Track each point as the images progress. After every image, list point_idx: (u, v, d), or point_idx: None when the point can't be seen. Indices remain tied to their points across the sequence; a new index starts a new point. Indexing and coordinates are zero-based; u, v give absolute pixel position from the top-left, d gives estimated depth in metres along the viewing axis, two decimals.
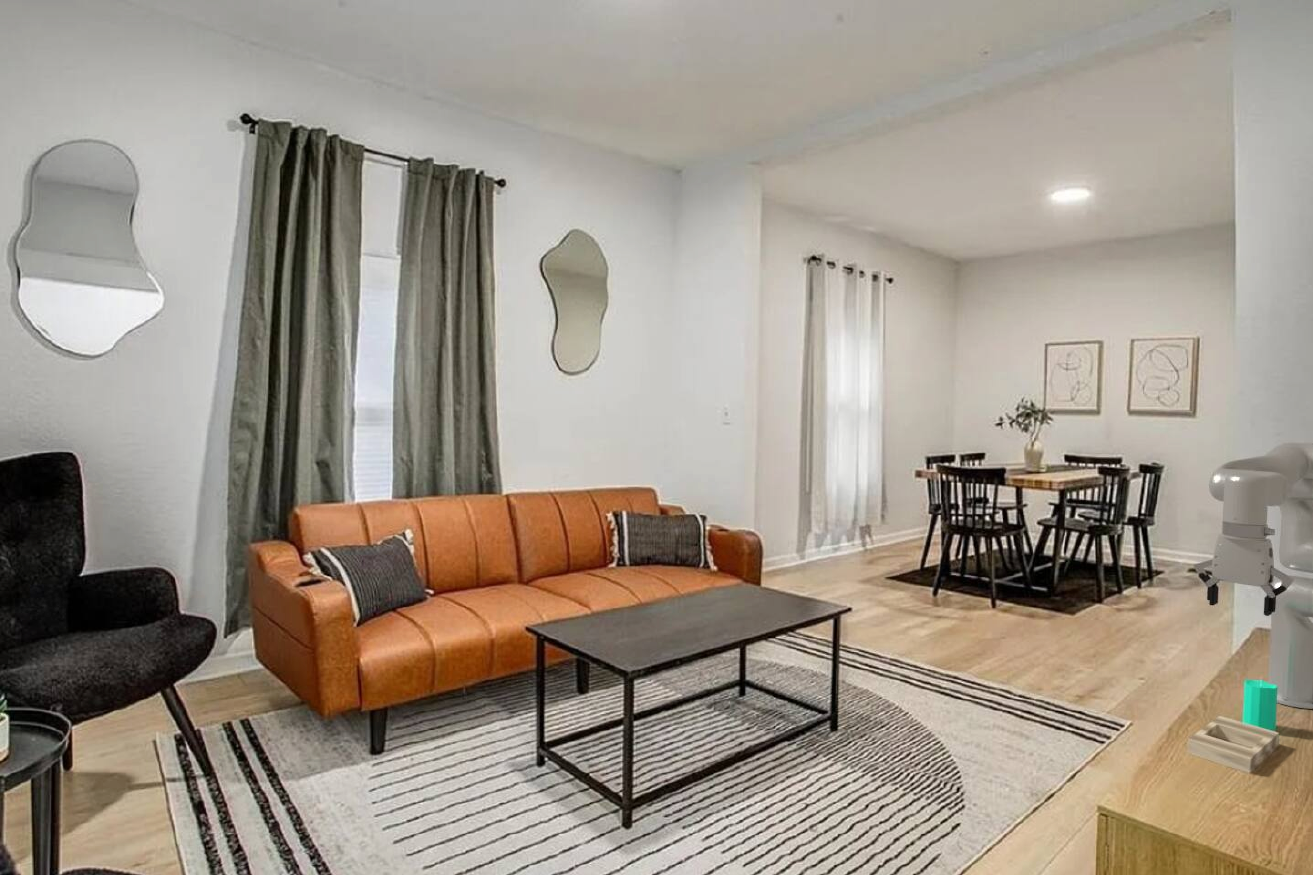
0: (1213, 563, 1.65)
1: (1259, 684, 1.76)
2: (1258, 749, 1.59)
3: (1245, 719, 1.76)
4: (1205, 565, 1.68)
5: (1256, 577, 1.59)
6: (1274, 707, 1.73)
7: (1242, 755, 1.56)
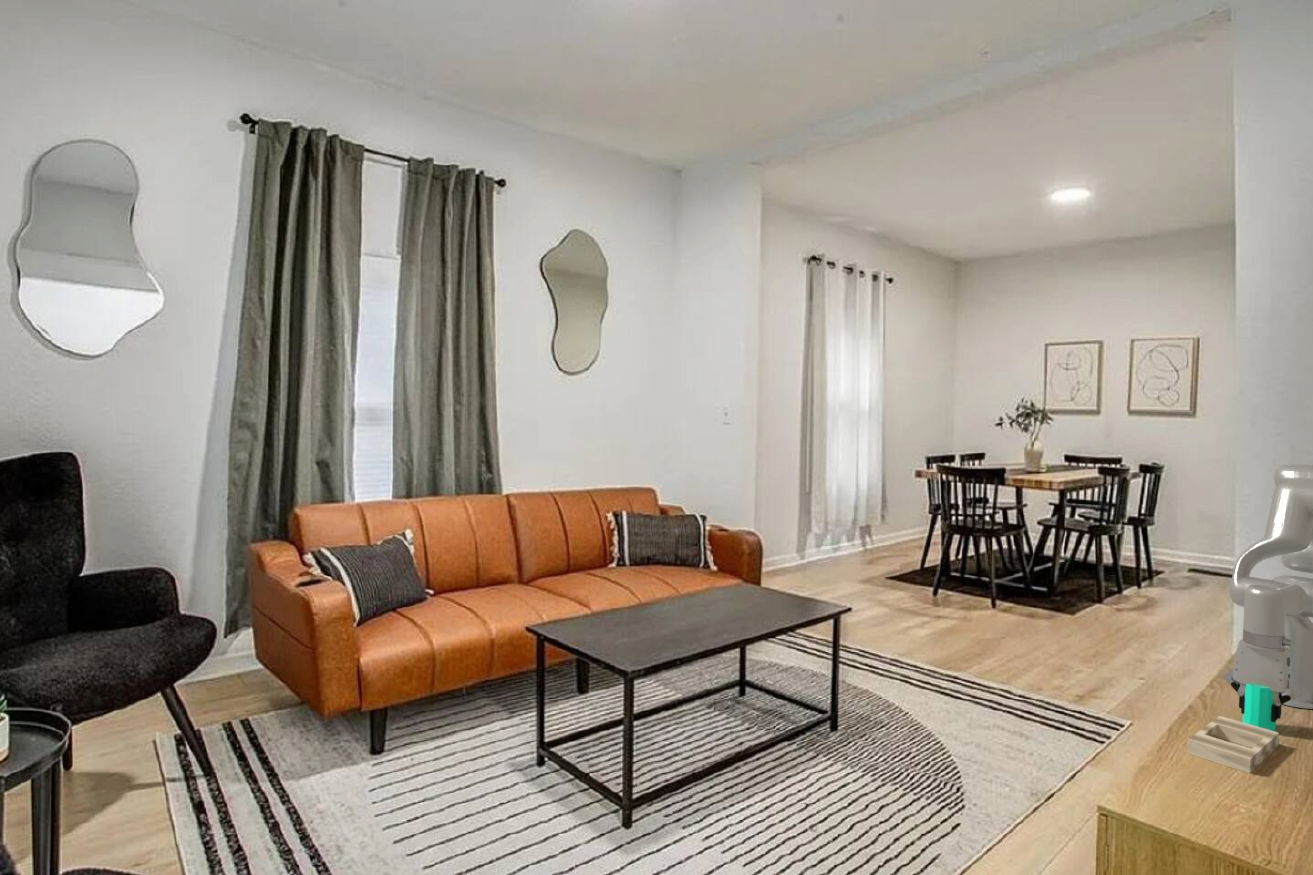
0: (1234, 667, 1.78)
1: None
2: (1258, 749, 1.59)
3: (1245, 719, 1.76)
4: (1231, 674, 1.79)
5: (1275, 684, 1.72)
6: None
7: (1242, 755, 1.56)
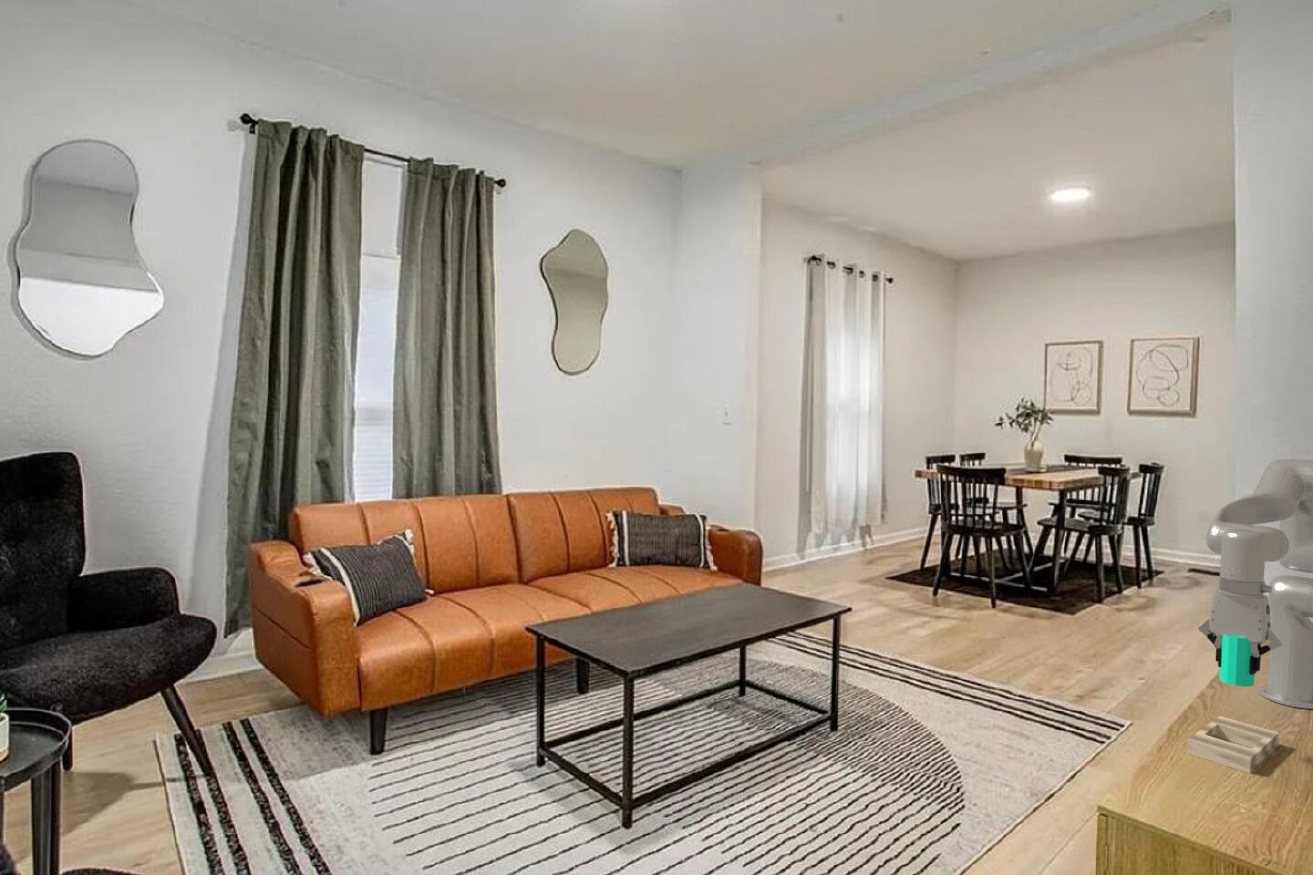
0: (1210, 618, 1.66)
1: None
2: (1258, 749, 1.59)
3: (1222, 672, 1.65)
4: (1208, 625, 1.68)
5: (1253, 634, 1.60)
6: None
7: (1242, 755, 1.56)
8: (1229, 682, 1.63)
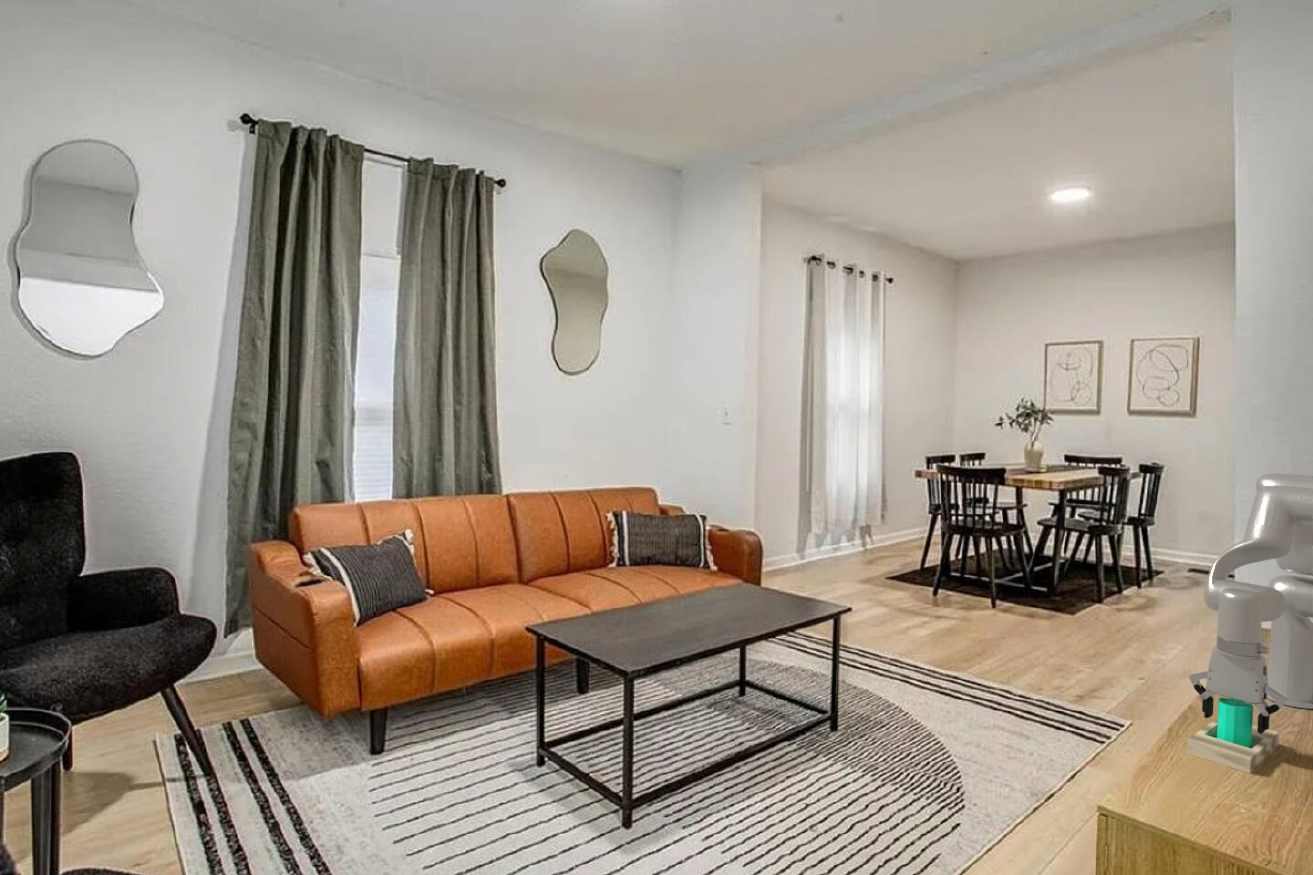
0: (1208, 676, 1.67)
1: (1234, 703, 1.65)
2: (1258, 749, 1.59)
3: None
4: (1200, 677, 1.69)
5: (1250, 695, 1.61)
6: (1250, 728, 1.62)
7: (1242, 755, 1.56)
8: None
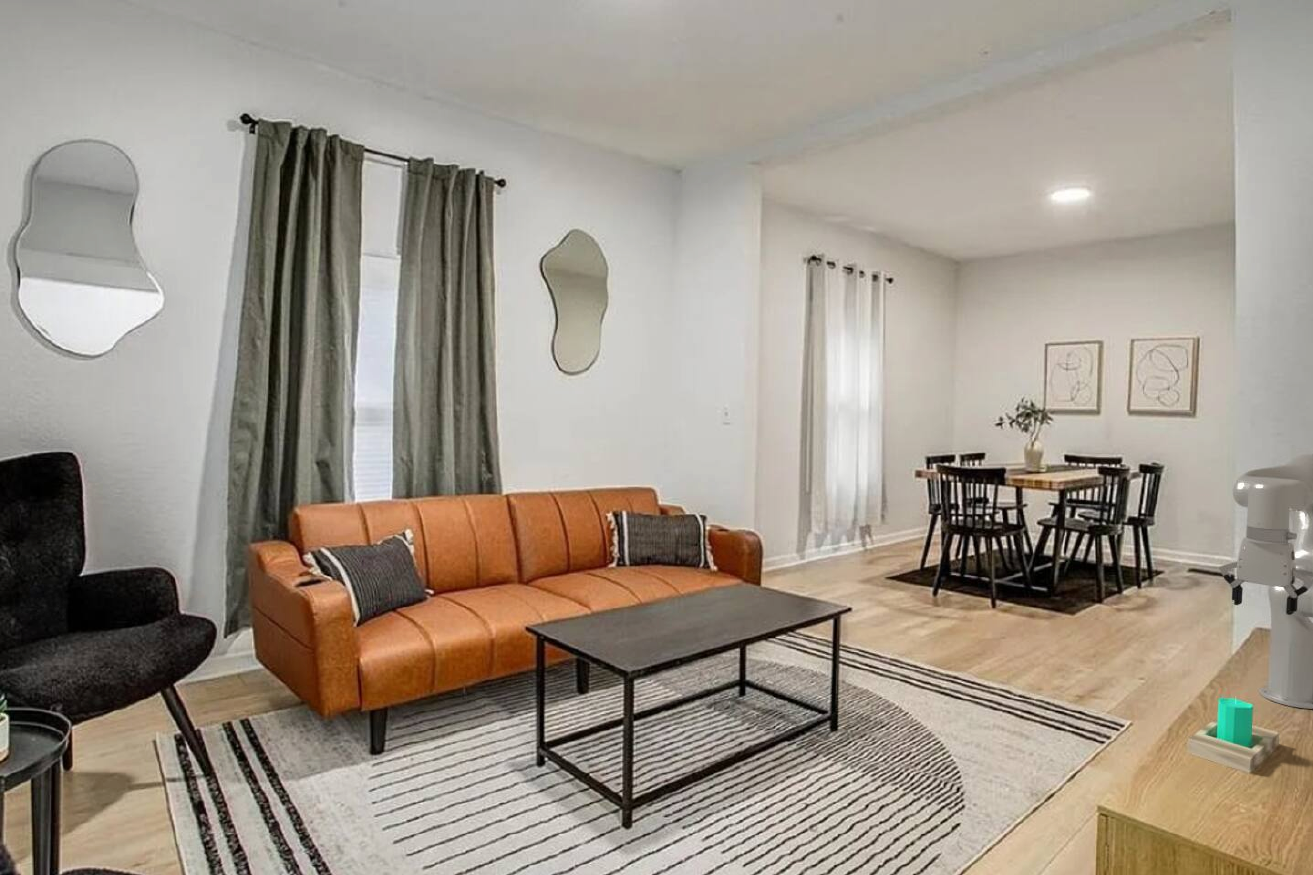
0: (1238, 565, 1.76)
1: (1234, 703, 1.65)
2: (1258, 749, 1.59)
3: None
4: (1230, 567, 1.78)
5: (1279, 578, 1.70)
6: (1249, 728, 1.62)
7: (1242, 755, 1.56)
8: None
